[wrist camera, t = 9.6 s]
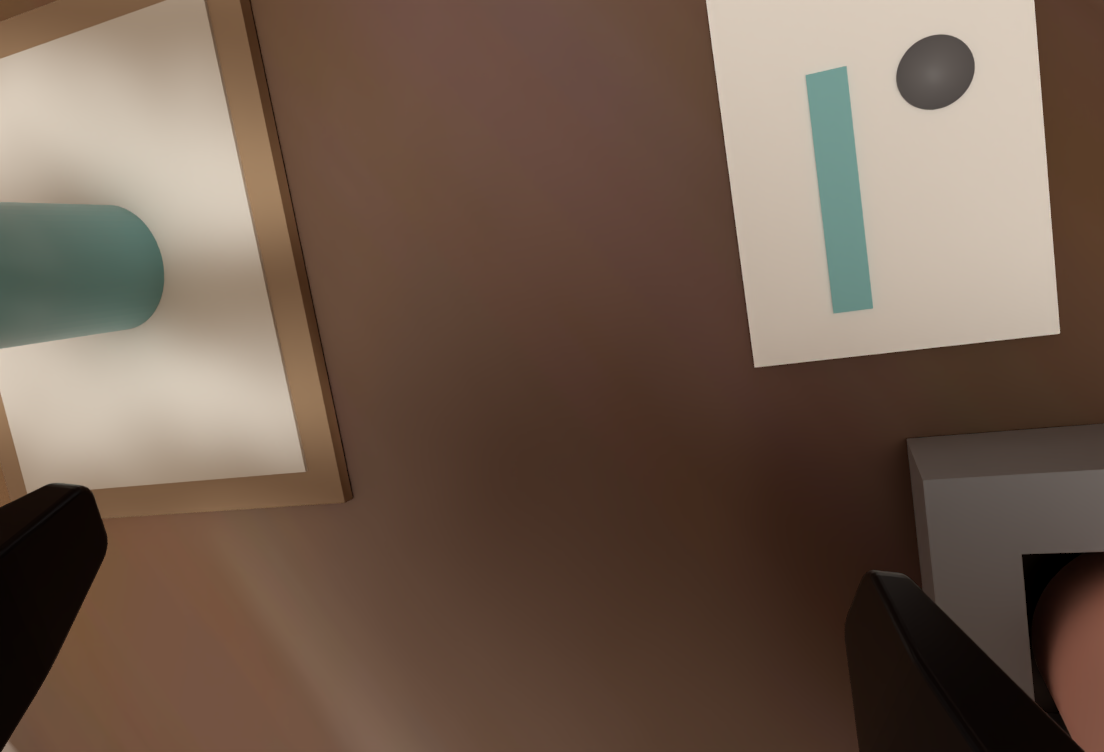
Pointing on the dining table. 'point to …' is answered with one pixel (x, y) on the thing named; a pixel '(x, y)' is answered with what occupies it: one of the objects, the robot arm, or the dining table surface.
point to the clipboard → (166, 267)
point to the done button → (1074, 646)
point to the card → (885, 173)
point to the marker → (74, 271)
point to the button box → (1003, 525)
